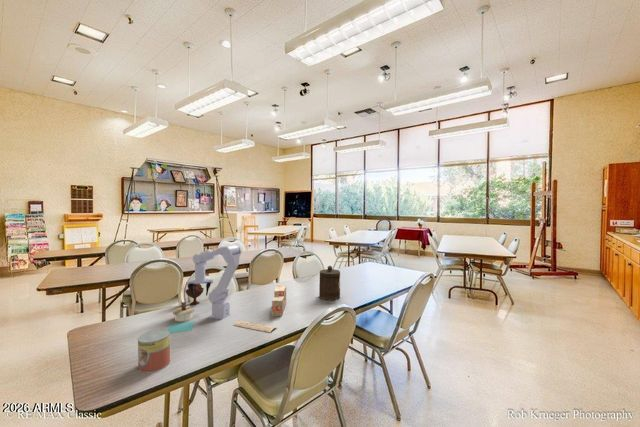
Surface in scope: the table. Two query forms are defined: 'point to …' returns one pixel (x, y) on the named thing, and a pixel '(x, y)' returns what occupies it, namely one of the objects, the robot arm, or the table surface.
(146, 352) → the canned food
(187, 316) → the bowl
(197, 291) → the ice cream bowl
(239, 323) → the tan wooden plank
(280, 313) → the stack of blocks
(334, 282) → the wooden container
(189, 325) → the mat
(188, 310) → the cover
